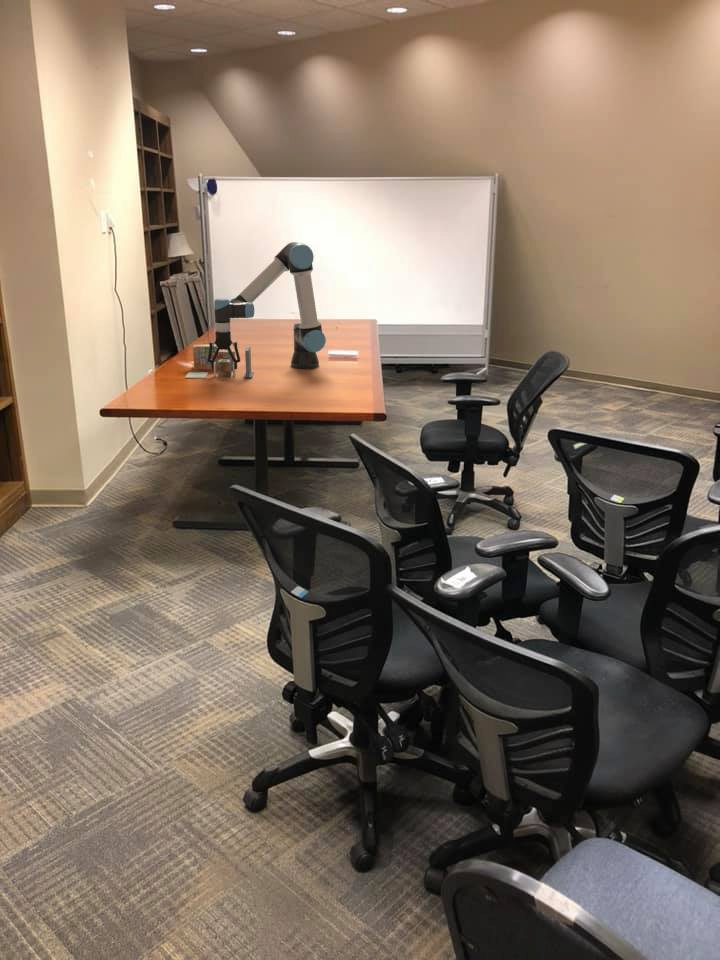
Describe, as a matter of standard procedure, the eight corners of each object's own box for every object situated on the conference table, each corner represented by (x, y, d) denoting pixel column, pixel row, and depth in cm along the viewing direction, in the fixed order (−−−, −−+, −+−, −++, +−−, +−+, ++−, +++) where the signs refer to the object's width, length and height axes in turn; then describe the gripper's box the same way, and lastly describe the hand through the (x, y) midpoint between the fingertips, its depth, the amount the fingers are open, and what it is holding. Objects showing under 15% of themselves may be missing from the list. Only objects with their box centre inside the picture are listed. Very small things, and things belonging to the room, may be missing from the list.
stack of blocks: (235, 366, 407) (234, 343, 403) (235, 369, 402) (234, 345, 397) (194, 367, 404) (193, 344, 399) (194, 370, 398) (192, 346, 394)
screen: (253, 373, 392) (252, 346, 387) (251, 378, 380) (250, 350, 375) (245, 373, 391) (244, 346, 386) (243, 378, 380) (242, 350, 375)
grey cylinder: (231, 374, 388) (230, 359, 385) (230, 377, 382) (229, 361, 380) (219, 374, 388) (218, 358, 385) (218, 377, 382) (217, 361, 379)
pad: (208, 373, 390) (208, 372, 390) (205, 378, 379) (205, 377, 379) (188, 373, 390) (188, 372, 389) (184, 378, 378) (184, 377, 378)
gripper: (245, 329, 381) (246, 374, 389) (201, 329, 380) (204, 373, 388) (244, 332, 374) (245, 377, 382) (199, 331, 373) (202, 377, 381)
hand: (224, 375), depth 385 cm, fingers open, 9 cm apart
